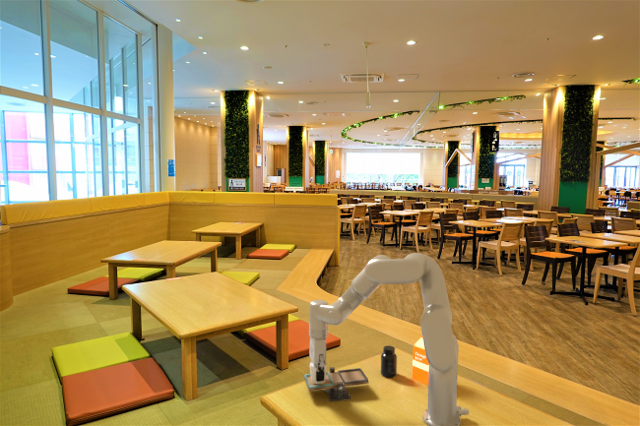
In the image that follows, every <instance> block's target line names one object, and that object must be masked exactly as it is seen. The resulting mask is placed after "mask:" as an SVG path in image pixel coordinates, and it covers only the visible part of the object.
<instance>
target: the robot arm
mask: <svg viewBox="0 0 640 426" xmlns="http://www.w3.org/2000/svg"><path fill="white" fill-rule="evenodd" d="M417 282H419V285H420V293H421V297H422V302H423V311H422V314H421V318H420V330H421V336H423V342H424V348H425V354H426V358H427V360H428V362H429V376H428V387H427V388H428V389H427V392H428V393H427V409H425V410H424V411H423V413H422V419H423V421H424V423H425V424H426V425H428V426H461V424H462V423H461V422H462V421H461V417H462V416H466V415H469V413H470V411H469V409H468V408H462V406H461V405H457V396H458V392H457V391H458V372H459V371H458V367H459V347H460V346H459V341H458V339H457V337H456V335H455V334H454V333H453V330H452V328H453V327H452V323H453V315H452V309H451V305H450V299H449V296H448V291H447V285H446V281H445V277H444V273H443V271H442V269H441V267H440V265H439V264H438V263H437V262H436V261H435V260H434V259H433V258H432V257H430V256H429V255H427V254H424V253H422V252H411V253H409V254H408V255H406V256H405V257H404V258H390V256H387V255H386V254H385V255H384V254H378V255H376V256H375V257H373V258H371V259H370V260H369V261H368V262H367V263H366V265H365V267H364V268H363V269H362V270H360V272H359V273H358V274H357V275H356V276H355V277H354V278H353V279H352V280H351V284H350V286H349V287H348V288H347V289H346V290H345V292H344V293H343V294H342V295H341V296H339V298H338V299H336V300H335V301H334V302H333V303H331V304H329V303H328V302H327V301H326V300H323V299H315V300H311V301H310V303H309V305H308V306H309V307H308V309H309V310H308V313H309V315H308V336H309V351H308V352H309V358H310V361H312V362H313V364H314V365H317V371H316V381H317V382H319V381H324V373H325V370H324V367H325V366H324V364H325V363H327V338H328V337H329V325H331V326H339V325H341V324H342V323H344V321H345V320H346V319H347V318H348V317H349V316H350V315H351V314H352V313H354V311H355V310H356V309H357V308H358V307H359V306H360V305H361V304H362V303H363V302H364V301H365V300H367V299H369V298H370V296H372V294H374V293H375V291H376V290H377V289H379V287H380V286H381V285H382V284H383V285H409V284H415V283H417ZM319 361H320V363H318V362H319ZM318 365H320V367H319V366H318Z"/></svg>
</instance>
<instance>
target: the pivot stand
mask: <svg viewBox="0 0 640 426" xmlns="http://www.w3.org/2000/svg"><path fill="white" fill-rule="evenodd" d="M328 369H329V370H328V371H329V372H328V373H334V372H336V370H335V369H336V368H335V367H334V366H332V367H331V366H330V367H329V368H328ZM324 390H325V392H326V395H327V397H328V399H329V402H331V403H332V402H338V401H345V400H351V398H352V397H351V395H350V394H349V392H348V390H347V388H346V387H343V382H337V388H330V389H324Z"/></svg>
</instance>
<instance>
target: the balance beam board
mask: <svg viewBox="0 0 640 426" xmlns="http://www.w3.org/2000/svg"><path fill="white" fill-rule="evenodd" d="M303 379H304V382H305V384H306V388H307V390H308V392H314V391H321V390H322V391H323V390H325V389H330V388H337V382H343V387H345V388H346V387H353V386H360V385H368V384H369V378H368V377H367V375H366V374H365V372H364V371H363V369H362V368H360V367H357V368H349V369H340V370H337V371H335V372H334V373H329V372H328V371H326V378H325V382H324V383H323V384H314V383H312V382H311V374H310V373H308V374H307V373H306V374H304V375H303Z"/></svg>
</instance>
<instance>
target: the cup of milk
mask: <svg viewBox="0 0 640 426" xmlns="http://www.w3.org/2000/svg"><path fill="white" fill-rule="evenodd" d="M318 363H320V361H319V362H318ZM327 365H328V363H327V362H326V363H325V364H324V366H325V367H324V370H325V373H324V381H319V382H317V381H316V371H317V365H314V364H313V362H312V360H310V362H309V374H311V382H312V383H314V384H323V383H324V382H325V378H326V372H327ZM318 366H319V367H320V365H318Z"/></svg>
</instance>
